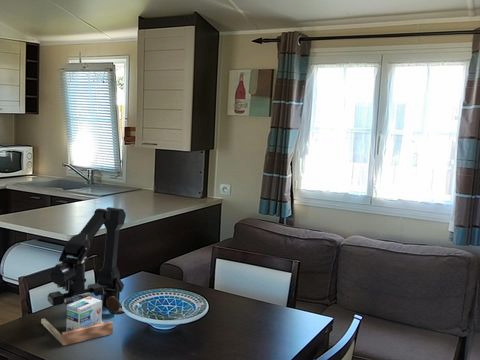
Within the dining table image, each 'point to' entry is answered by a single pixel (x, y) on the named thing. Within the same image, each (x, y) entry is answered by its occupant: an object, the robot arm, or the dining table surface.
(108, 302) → the dark brown rounded lump
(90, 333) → the frame
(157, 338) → the dining table surface
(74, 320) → the light bulb box
